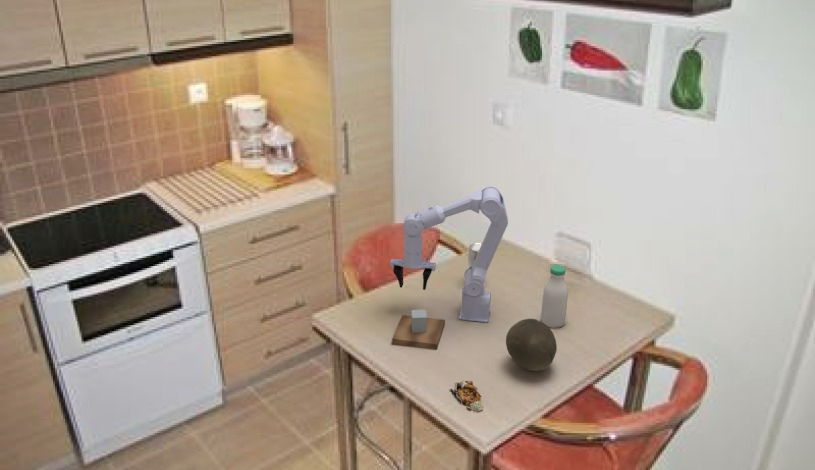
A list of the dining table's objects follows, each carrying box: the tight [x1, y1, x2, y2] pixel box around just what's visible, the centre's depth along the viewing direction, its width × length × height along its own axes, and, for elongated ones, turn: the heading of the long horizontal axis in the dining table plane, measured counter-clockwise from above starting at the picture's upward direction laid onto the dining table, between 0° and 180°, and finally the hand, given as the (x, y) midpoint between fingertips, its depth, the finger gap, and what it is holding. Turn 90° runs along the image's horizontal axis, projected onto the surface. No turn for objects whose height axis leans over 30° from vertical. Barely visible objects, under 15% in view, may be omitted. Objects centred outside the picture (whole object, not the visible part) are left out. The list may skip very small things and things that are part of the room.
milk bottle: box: [540, 264, 569, 329], centre depth 222 cm, size 8×8×20 cm
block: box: [411, 309, 428, 333], centre depth 218 cm, size 4×4×6 cm
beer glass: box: [467, 242, 487, 288], centre depth 245 cm, size 7×7×15 cm
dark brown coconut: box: [505, 318, 558, 372], centre depth 201 cm, size 14×14×15 cm
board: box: [391, 314, 446, 350], centre depth 220 cm, size 14×14×2 cm
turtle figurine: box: [448, 380, 485, 414], centre depth 191 cm, size 7×12×4 cm, turn 29°
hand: (413, 287), depth 228 cm, fingers open, 7 cm apart
